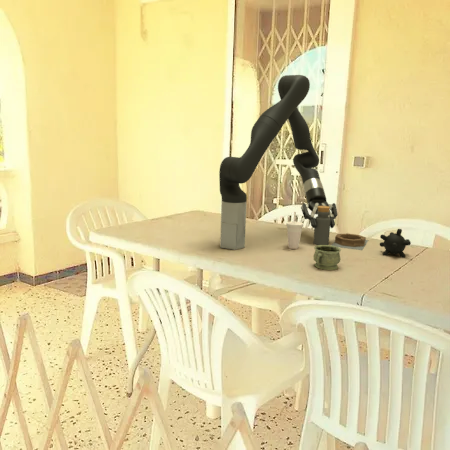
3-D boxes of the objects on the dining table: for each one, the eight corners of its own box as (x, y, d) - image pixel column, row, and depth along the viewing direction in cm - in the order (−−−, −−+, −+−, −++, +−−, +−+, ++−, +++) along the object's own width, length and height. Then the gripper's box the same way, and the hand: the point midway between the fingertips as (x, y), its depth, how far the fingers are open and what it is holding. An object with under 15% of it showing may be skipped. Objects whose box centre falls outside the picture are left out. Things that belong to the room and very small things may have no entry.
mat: (362, 251, 176) (362, 250, 176) (330, 247, 181) (330, 246, 181) (368, 241, 192) (368, 240, 192) (338, 237, 197) (338, 236, 197)
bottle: (327, 243, 187) (330, 205, 184) (329, 247, 181) (332, 208, 178) (312, 242, 187) (315, 205, 184) (313, 246, 182) (316, 207, 179)
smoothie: (282, 248, 176) (284, 212, 173) (288, 245, 182) (290, 209, 179) (298, 251, 173) (301, 214, 170) (304, 247, 179) (306, 211, 176)
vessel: (324, 260, 163) (325, 242, 162) (347, 265, 158) (348, 247, 156) (304, 267, 155) (306, 248, 153) (328, 273, 149) (330, 254, 148)
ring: (362, 248, 180) (362, 241, 179) (333, 244, 184) (333, 238, 183) (366, 241, 189) (366, 235, 189) (338, 238, 194) (339, 232, 193)
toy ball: (390, 241, 180) (420, 239, 171) (382, 264, 175) (413, 264, 166) (377, 224, 175) (407, 221, 166) (368, 247, 170) (399, 246, 161)
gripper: (300, 186, 185) (309, 222, 177) (334, 186, 188) (345, 221, 179) (294, 197, 192) (303, 232, 183) (328, 197, 194) (337, 232, 186)
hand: (323, 227), depth 181 cm, fingers open, 6 cm apart
